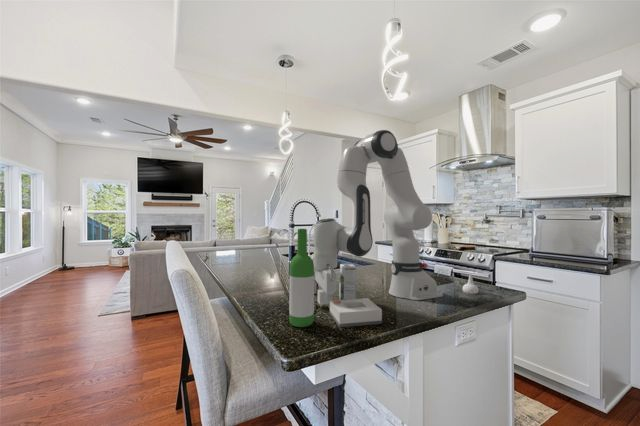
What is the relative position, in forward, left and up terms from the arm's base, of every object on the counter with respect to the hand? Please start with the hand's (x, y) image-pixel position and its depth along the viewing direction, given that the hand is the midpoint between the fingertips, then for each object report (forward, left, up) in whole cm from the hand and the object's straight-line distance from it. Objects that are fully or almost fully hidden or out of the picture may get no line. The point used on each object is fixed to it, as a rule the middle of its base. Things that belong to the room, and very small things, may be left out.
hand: (324, 299), depth 106 cm
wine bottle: (+11, +14, -3) cm, 18 cm away
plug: (0, 0, -3) cm, 3 cm away
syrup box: (-10, -4, -3) cm, 11 cm away
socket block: (-7, +13, -3) cm, 15 cm away
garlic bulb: (-68, -6, -3) cm, 68 cm away
